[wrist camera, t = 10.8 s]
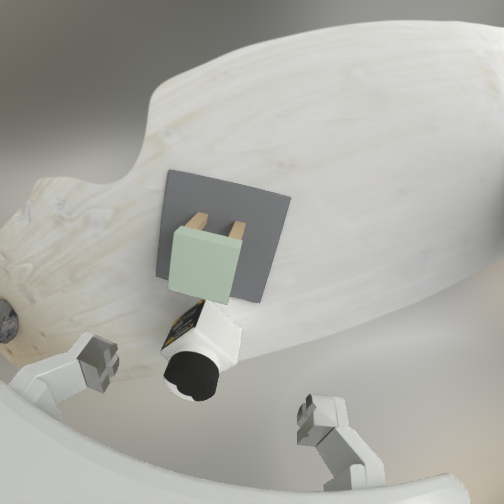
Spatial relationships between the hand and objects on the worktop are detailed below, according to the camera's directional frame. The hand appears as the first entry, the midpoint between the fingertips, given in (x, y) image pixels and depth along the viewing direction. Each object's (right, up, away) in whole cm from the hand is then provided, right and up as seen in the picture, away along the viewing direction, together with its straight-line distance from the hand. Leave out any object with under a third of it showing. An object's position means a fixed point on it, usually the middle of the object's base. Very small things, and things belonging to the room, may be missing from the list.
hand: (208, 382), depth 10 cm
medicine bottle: (-4, -5, +28) cm, 29 cm away
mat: (-2, +7, +23) cm, 24 cm away
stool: (-2, +7, +22) cm, 23 cm away
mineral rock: (-56, -10, +34) cm, 67 cm away
